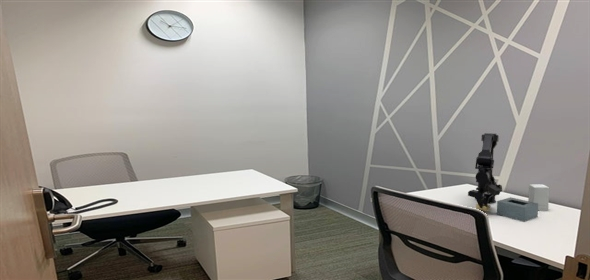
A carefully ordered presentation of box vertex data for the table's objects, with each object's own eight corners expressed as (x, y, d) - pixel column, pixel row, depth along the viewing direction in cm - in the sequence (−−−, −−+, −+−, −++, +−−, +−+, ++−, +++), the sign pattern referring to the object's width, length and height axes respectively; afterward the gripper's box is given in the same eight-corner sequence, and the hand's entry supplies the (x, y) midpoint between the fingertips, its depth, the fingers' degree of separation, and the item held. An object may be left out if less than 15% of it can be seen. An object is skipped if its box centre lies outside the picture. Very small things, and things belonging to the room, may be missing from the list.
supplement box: (548, 210, 200) (549, 187, 198) (533, 210, 202) (534, 187, 200) (542, 206, 207) (543, 184, 206) (527, 206, 209) (528, 183, 207)
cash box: (496, 214, 197) (497, 201, 196) (510, 210, 203) (510, 197, 202) (524, 221, 185) (525, 207, 184) (537, 216, 191) (538, 203, 190)
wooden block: (476, 208, 204) (476, 204, 204) (479, 207, 206) (479, 202, 206) (486, 211, 199) (486, 206, 199) (490, 210, 201) (490, 205, 201)
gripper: (487, 184, 189) (486, 214, 191) (509, 179, 198) (508, 208, 200) (467, 180, 198) (466, 209, 200) (489, 175, 208) (488, 203, 210)
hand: (483, 207), depth 202 cm, fingers closed on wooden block, 3 cm apart
